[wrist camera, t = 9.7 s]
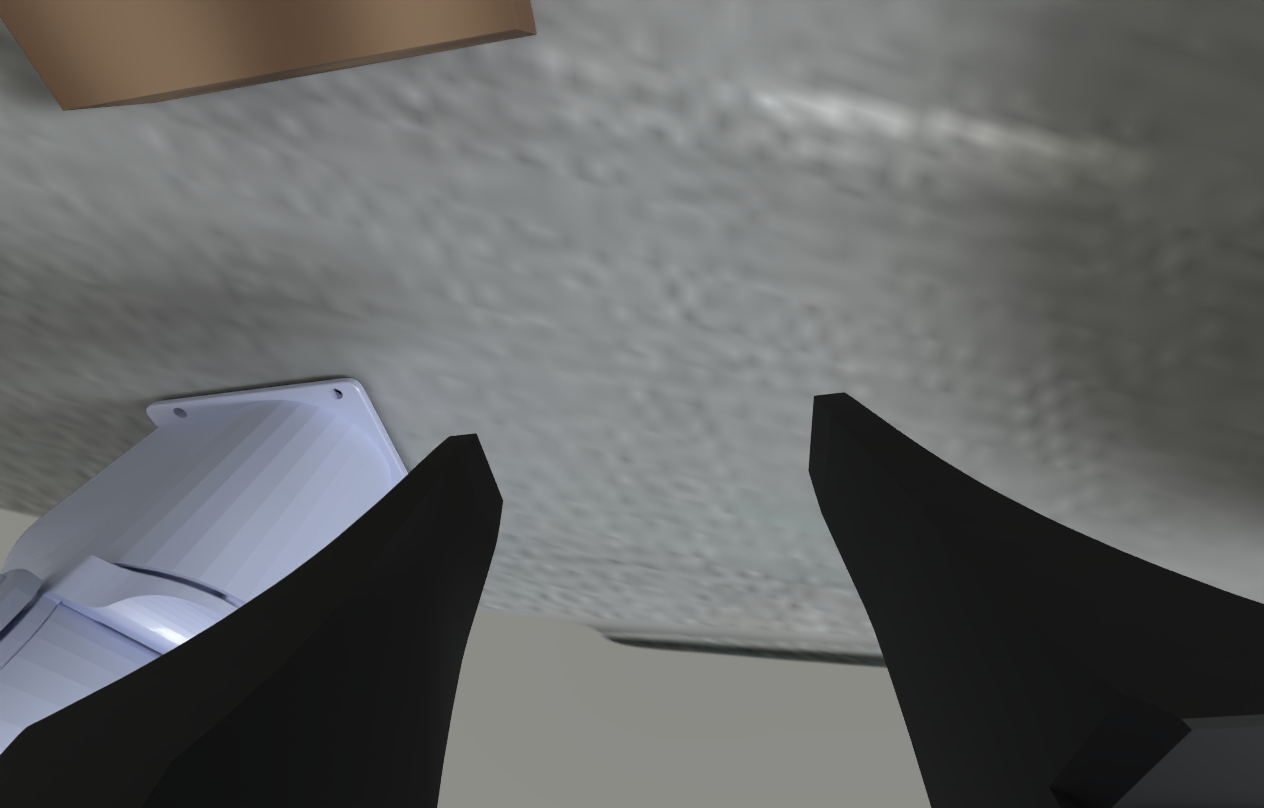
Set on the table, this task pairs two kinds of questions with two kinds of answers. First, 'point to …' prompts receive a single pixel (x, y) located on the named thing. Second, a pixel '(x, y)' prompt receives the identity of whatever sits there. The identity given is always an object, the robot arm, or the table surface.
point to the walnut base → (235, 41)
